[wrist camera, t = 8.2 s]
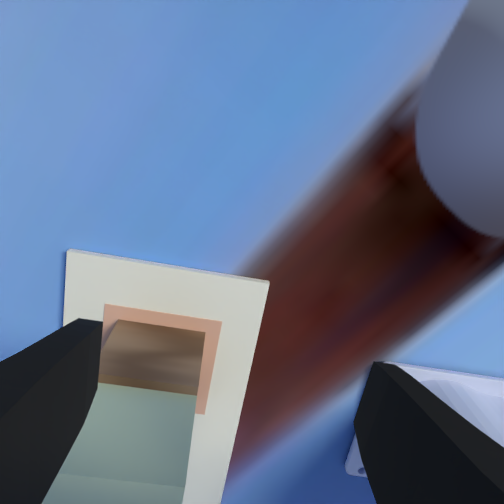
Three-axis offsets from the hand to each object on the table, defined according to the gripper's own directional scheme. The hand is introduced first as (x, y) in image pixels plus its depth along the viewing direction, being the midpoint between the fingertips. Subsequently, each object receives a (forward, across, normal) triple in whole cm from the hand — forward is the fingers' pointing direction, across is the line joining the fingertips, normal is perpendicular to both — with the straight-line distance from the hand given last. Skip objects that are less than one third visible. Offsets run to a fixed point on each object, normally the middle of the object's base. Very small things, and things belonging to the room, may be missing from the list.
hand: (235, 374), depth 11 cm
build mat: (+10, +3, +10) cm, 15 cm away
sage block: (+5, +3, +7) cm, 10 cm away
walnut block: (+10, +3, +7) cm, 13 cm away
